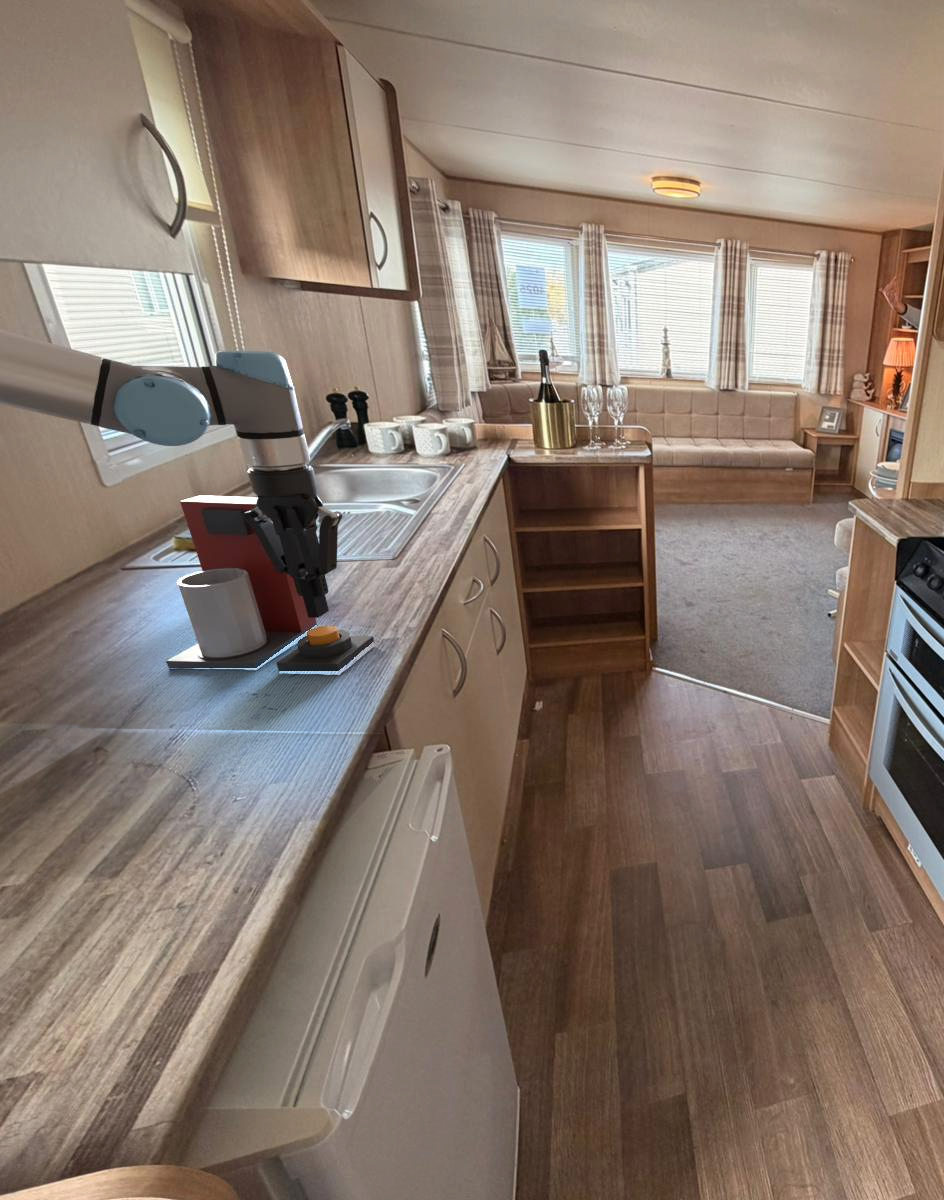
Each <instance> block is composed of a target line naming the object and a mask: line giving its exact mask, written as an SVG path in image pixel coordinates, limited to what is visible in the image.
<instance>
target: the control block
mask: <svg viewBox="0 0 944 1200" xmlns="http://www.w3.org/2000/svg"><path fill="white" fill-rule="evenodd" d="M338 633H339V637H340V639H339V640H337V641H335V642H332V643H329V644H323V645H310V643H309V640H308V636H305V637H303V638H302V639H300V640H299V641H298V644H296V645H297V646H296V647H297V648H295V649H294V650H293V651H291V652H290V653H288V654H287V655H285V656H283V657H282V658H280V659H279V660H278V661H277V662H275V663H276V666H277V670H278V672H279V671H339V670H340V669H341V668H343V667H344V666H345V665H347V664H348V663H349V662H350V661H351V660H353V659H354V657H356V656H357V655H358V654H359V653H360V652H361V651H362V650H364V649H365V648H366V647H368V646H369V645H370V644H371V643H372V642H373V641H374V642H375V638H374V636H373V635H351V632H350V631H347V630H344V629H338Z"/></svg>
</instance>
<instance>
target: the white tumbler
mask: <svg viewBox="0 0 944 1200" xmlns="http://www.w3.org/2000/svg"><path fill="white" fill-rule="evenodd" d="M176 584H177V587H178V590H179V593H180V596H181V599H182V602H183V605H184V608H185V612H186V613H187V617H188V619H189V622H190V625H191V628H192V631H193V634H194V637H195V640H196V644H198V646H199V649H200V651H201V654H202V655H204V656H206V657H212V658H221V657H230V656H236V655H241V654H244V653H248V652H251V651H253V650H256V649H258V648H260V647H262V646H263V645H264V644H265V643H266V642H267V638H266V637H267V636H266V633H265V629H264V626H263V622H262V619H261V616H260V612H259V609H258V605H257V602H256V599H255V595H254V592H253V589H252V585H251V582H250V578H249V575H248V572H247V571H246V570H243V569H239V568H222V569H212V570H206V571H202V570H201V571H196V572H193V573H190V574H187V575H184V576H183V577H180V578H179V579H178V580H177V581H176Z"/></svg>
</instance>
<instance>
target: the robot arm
mask: <svg viewBox="0 0 944 1200" xmlns="http://www.w3.org/2000/svg"><path fill="white" fill-rule="evenodd" d="M214 359H215V361H214V365H208V366H206V365H205V366H177V365H176V366H175V365H174V366H173V365H169V366H167V365H133V364H129V363H124V362H121V361H117V360H113V359H109V358H105V357H102V356H98V355H95V354H91V353H88V352H85V351H82V350H81V351H80V350H78V349H73V348H70V347H66V346H63V345H59V344H56V343H52V342H49V341H44V340H41V339H37V338H34V337H32V336H31V337H30V336H27V335H23V334H19V333H15V332H12V331H9V330H5V329H2V328H0V405H1V406H6V407H10V408H15V409H19V410H23V411H28V412H33V413H36V414H37V413H38V414H41V415H46V416H50V417H55V418H61V419H64V420H69V421H72V422H73V421H74V422H78V423H82V424H86V425H87V424H88V425H91V426H96V427H98V428H99V427H100V428H103V429H105V430H106V429H107V430H111V431H115V432H120V433H124V434H130V435H132V436H134V437H136V438H138V439H141V440H142V441H144V442H147V443H150V444H154V445H158V446H163V447H179V446H180V447H181V446H185V445H188V444H191V443H193V442H196V441H197V440H198V439H200V438H201V437H202V436H204V434H205V433H206V431H207V430H208V428H209V427H210V426H226V425H233V426H234V428H235V433H236V436H237V439H238V443H239V447H240V450H241V455H242V458H243V462H244V465H246V466H248V467H250V468H248V470H247V475H248V479H249V482H250V486H251V490H252V492H253V493H254V494H255V495H256V496H257V497H256V498H257V502H256V505H257V507H255V508H254V509H253V510H251V511H248V512H245V513H243V514H242V517H243V519H244V520H245V521H246V522H247V523H248V524H249V525H250V526H251V527H252V528H253V529H254V531H255V533H256V535H257V537H258V538H259V540H260V542H261V544H262V546H263V547H264V549H265V551H266V553H267V555H268V557H269V558H270V560H271V562H272V564H273V566H274V567H275V569H276V571H277V572H278V573H280V574H282V573H286V574H289V575H290V576H291V577H293V580H294V583H295V587H296V591H297V594H298V595H299V596H303V599H304V603H305V607H306V611H307V614H308V618H315V619H319V618H321V617H322V616H323V615H326V613H328V612H330V609H329V605H328V600H327V598H326V597H327V596H326V595H328V593H329V586H328V582H327V578H326V575H328V574H329V573H331V572H334V570H336V569H337V567H338V538H339V537H338V536H339V535H338V534H339V525H340V523H341V521H342V519H343V514H342V512H341V511H338V510H336V511H334V512H333V510H332V511H331V510H330V509H328V508H327V507H325V506H324V503H323V501H322V500H321V499H320V497H319V496H318V483H317V479H316V474H315V471H314V467H313V466H312V465H311V464H310V463H309V462H310V461H311V456H310V451H309V447H308V443H307V439H306V435H305V431H304V427H303V421H302V418H301V413H300V409H299V403H298V401H297V396H296V391H295V386H294V385H293V381H292V377H291V375H290V371H289V368H288V365H287V361H286V360H285V358H284V357H282V355H280V354H278V353H276V352H273V351H266V350H265V351H264V350H219V351H217V352H215V353H214ZM317 520H318V521H317ZM272 522H273V523H272ZM317 522H318V524H319V531H318V525H317ZM317 531H318V534H317ZM283 563H284V564H283Z"/></svg>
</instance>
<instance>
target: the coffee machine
mask: <svg viewBox="0 0 944 1200" xmlns="http://www.w3.org/2000/svg"><path fill="white" fill-rule="evenodd" d="M257 498H258V497H254V496H253V497H251V496H231V495H230V496H228V495H205V494H204V495H203V494H202V495H201V494H200V495H197V496H193V497H190V498H186V499H182V500H179V503H180V505H181V509H182V513H183V515H184V518H185V521H186V524H187V528H188V531H189V533H190V537H191V540H192V543H193V546H194V549H195V552H196V555H197V558H198V559H197V560H198V561H199V564H200V565H199V566H200V567H201V571H206V570H212V569H222V568H239V569H243V570H246V571H247V572H248V575H249V578H250V582H251V585H252V589H253V592H254V595H255V599H256V602H257V605H258V609H259V612H260V616H261V619H262V622H263V626H264V629H265V633H266V636H267V637H266V638H267V642H266V643H265V644H264V645H263V646H262V647H260V648H258V649H256V650H253V651H251V652H248V653H244V654H241V655H236V656H230V657H221V658H212V657H206V656H204V655H202V654H201V651H200V649H199V646H198V643H196V644H194V645H192V646H191V647H188V648H187V649H185V650H183V651H181V652H180V653H177V654H176V655H174V656H172V657H170V658H168V659H167V660H166V661H165V662H166V665H167V668H168V669H169V668H257V667H258V666H260V665H261V664H262V663H264V662H265V661H266V660H268V659H269V658H270V657H272V656H273V655H274V654H276V653H277V652H279V651H280V650H281V649H283V648H284V647H285V646H287V645H288V644H290V643H291V642H292V641H294V640H295V639H296V638H298V637H299V636H301V635H302V634H304V633H305V632H306V631H308V630H310V629H311V628H312V627H314V626H315V625H317V626H318V624H317V618H308V614H307V611H306V607H305V603H304V599H303V596H299V595H298V594H297V591H296V587H295V583H294V580H293V577H291V576H290V575H289V574H286V573H282V574H280V573H278V572H277V571H276V569H275V567H274V566H273V564H272V562H271V560H270V558H269V557H268V555H267V553H266V551H265V549H264V547H263V546H262V544H261V542H260V540H259V538H258V537H257V535H256V533H255V531H254V529H253V528H252V527H251V526H250V525H249V524H248V523H247V522H246V521H245V520H244V519H243V517H242V514H243V513H245V512H248V511H251V510H253V509H254V508H255V507H257V505H256V502H257ZM272 523H273V522H272ZM283 564H284V563H283Z"/></svg>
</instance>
